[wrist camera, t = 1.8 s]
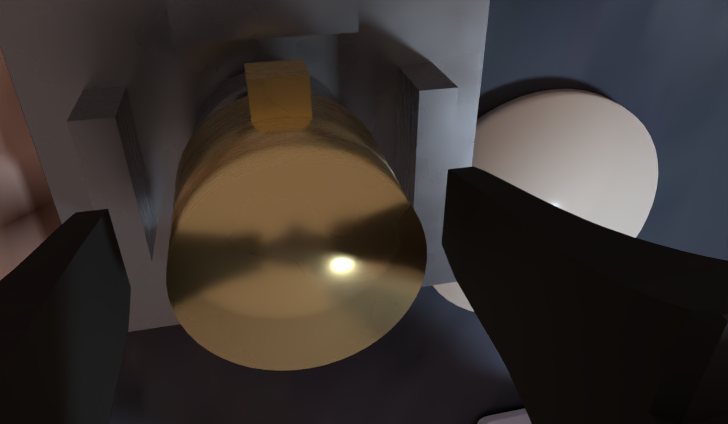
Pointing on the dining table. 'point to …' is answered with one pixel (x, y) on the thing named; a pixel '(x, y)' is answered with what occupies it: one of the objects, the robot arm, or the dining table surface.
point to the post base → (191, 44)
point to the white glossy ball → (569, 159)
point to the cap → (289, 229)
